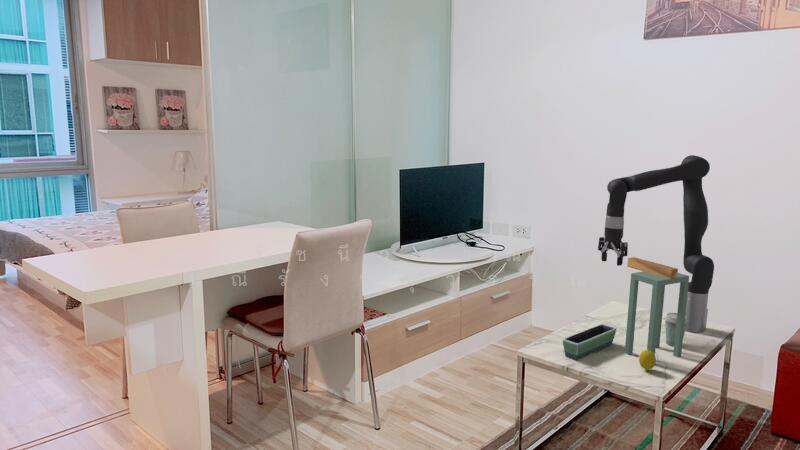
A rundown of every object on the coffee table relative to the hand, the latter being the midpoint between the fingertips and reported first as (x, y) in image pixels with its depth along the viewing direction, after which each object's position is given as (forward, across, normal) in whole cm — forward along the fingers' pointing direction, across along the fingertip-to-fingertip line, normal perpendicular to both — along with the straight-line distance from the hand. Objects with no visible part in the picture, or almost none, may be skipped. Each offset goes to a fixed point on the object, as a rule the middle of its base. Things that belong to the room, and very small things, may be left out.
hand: (611, 263), depth 253 cm
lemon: (+29, -41, +23) cm, 55 cm away
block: (-4, -28, +9) cm, 29 cm away
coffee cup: (+28, -28, -8) cm, 41 cm away
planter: (+29, -18, +28) cm, 44 cm away
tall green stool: (+28, -32, +9) cm, 43 cm away
